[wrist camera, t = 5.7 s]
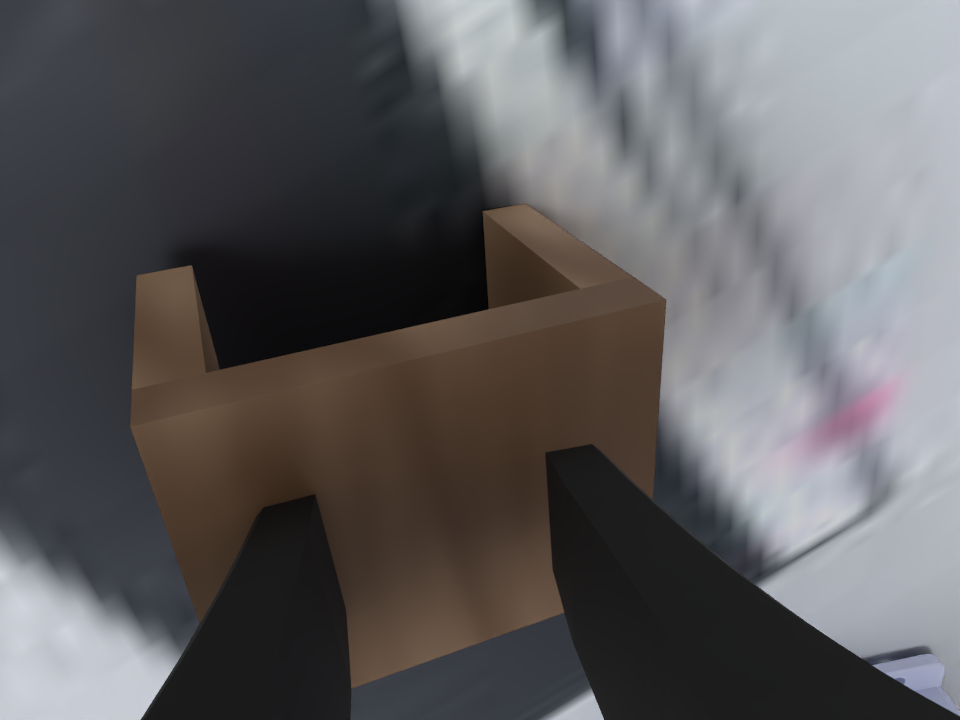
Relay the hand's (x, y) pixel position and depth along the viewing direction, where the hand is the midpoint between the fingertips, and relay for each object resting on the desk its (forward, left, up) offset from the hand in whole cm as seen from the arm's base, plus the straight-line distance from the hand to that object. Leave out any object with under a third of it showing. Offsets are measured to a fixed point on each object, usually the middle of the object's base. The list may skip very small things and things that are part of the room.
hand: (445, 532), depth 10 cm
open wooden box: (-3, 0, -4) cm, 4 cm away
